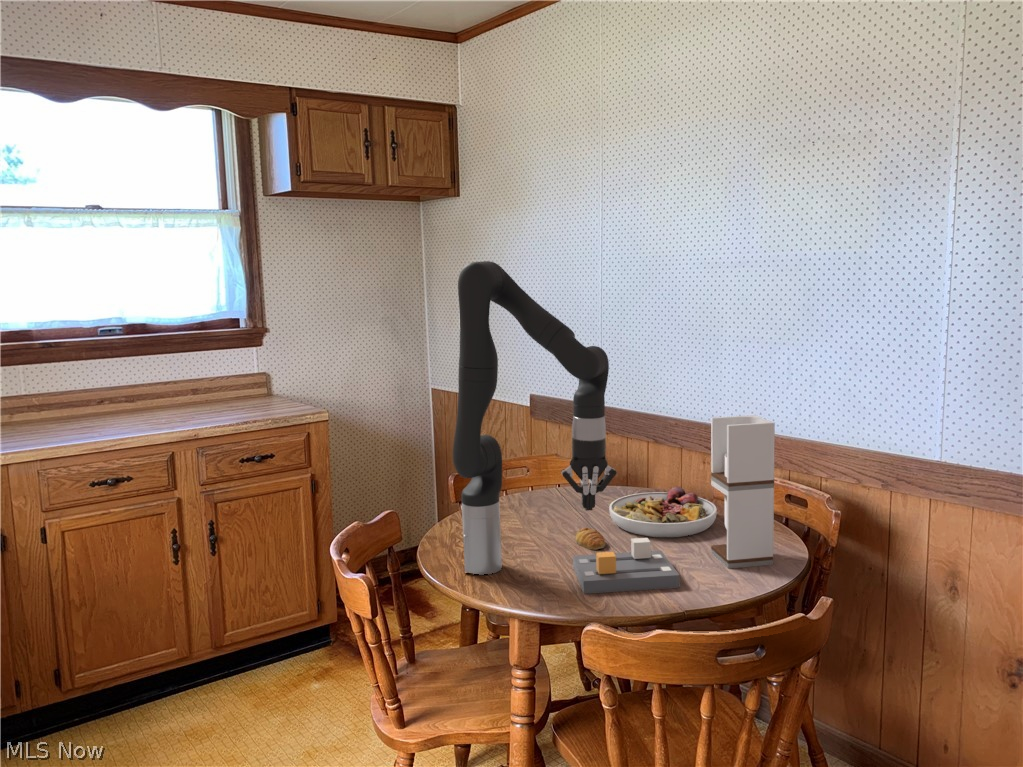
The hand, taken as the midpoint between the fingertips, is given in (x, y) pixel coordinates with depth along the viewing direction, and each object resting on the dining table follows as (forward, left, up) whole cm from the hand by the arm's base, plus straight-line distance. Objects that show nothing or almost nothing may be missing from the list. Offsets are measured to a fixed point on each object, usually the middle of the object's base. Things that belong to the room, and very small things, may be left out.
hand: (588, 509), depth 180 cm
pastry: (+5, +27, -19) cm, 33 cm away
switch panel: (+9, +3, -18) cm, 20 cm away
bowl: (+28, +41, -19) cm, 53 cm away
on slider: (+14, +7, -15) cm, 21 cm away
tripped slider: (+4, -1, -15) cm, 15 cm away
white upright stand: (+40, +10, -18) cm, 45 cm away
